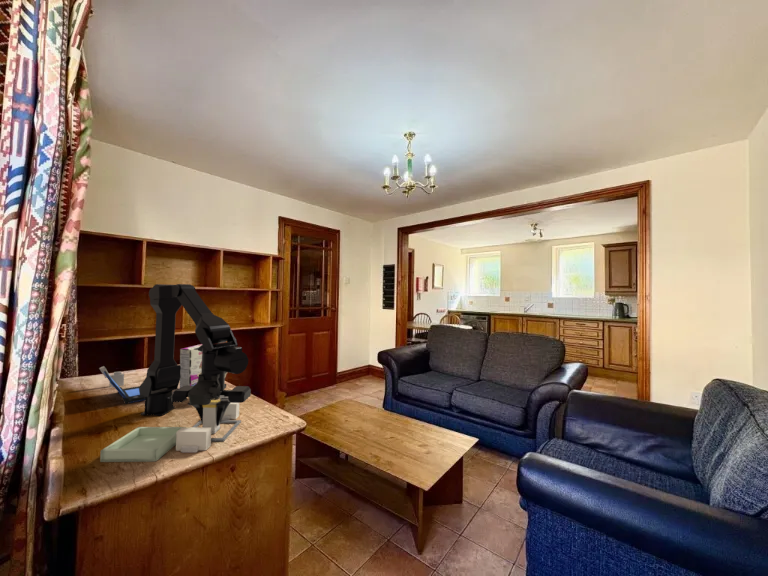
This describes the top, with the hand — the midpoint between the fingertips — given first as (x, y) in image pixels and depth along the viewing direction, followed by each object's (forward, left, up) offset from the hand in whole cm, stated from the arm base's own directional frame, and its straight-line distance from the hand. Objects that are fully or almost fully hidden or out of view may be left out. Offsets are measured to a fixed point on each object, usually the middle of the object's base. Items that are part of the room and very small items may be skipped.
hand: (211, 425), depth 85 cm
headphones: (0, 0, -2) cm, 2 cm away
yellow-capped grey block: (0, 0, -2) cm, 2 cm away
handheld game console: (-40, +26, -2) cm, 48 cm away
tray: (-11, -9, -2) cm, 14 cm away
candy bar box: (-22, +35, -2) cm, 41 cm away
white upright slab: (-54, +37, -2) cm, 65 cm away
